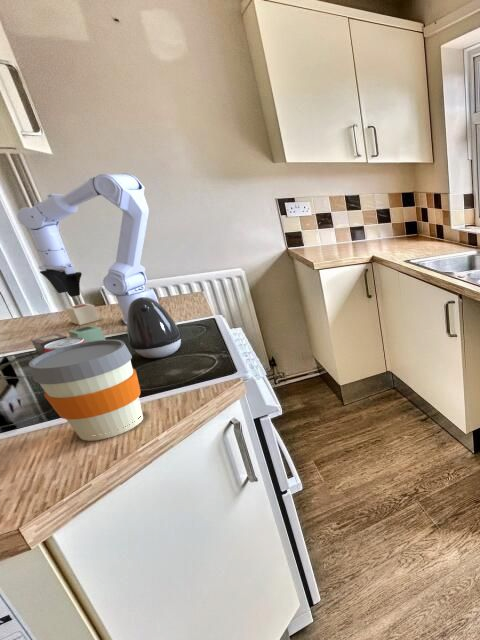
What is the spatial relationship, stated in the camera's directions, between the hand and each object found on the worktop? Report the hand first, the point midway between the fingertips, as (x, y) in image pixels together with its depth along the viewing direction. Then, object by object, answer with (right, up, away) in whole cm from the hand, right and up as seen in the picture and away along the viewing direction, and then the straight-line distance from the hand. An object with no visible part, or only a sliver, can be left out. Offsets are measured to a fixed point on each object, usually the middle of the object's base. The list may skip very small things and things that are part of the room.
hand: (69, 294), depth 129 cm
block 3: (+22, -16, -15) cm, 31 cm away
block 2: (+1, -8, +4) cm, 9 cm away
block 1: (+19, -18, -21) cm, 34 cm away
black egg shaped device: (+46, -18, -21) cm, 53 cm away
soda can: (+46, -26, -40) cm, 66 cm away
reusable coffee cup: (+62, -31, -51) cm, 86 cm away
